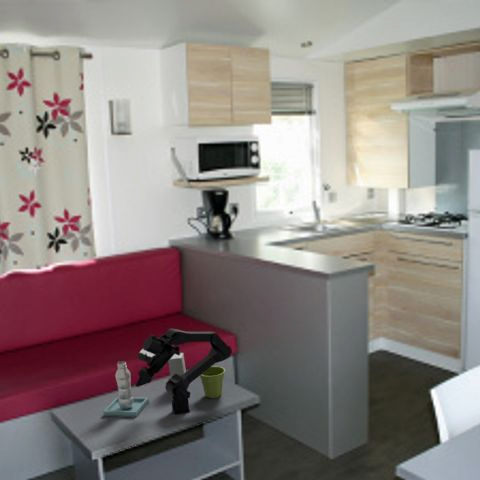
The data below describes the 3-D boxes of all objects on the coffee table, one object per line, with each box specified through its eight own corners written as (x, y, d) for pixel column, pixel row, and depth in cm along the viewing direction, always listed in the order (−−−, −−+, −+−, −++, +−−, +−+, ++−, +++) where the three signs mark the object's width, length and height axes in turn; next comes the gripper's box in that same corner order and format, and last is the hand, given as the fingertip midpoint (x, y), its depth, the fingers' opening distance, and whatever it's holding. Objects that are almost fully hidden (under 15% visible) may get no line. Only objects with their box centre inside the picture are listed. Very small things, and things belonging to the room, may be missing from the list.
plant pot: (210, 403, 285) (208, 378, 283) (195, 395, 294) (192, 371, 292) (232, 394, 292) (230, 370, 290) (216, 387, 301) (214, 364, 299)
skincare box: (186, 391, 299) (183, 358, 296) (170, 392, 299) (167, 359, 297) (188, 384, 307) (185, 351, 305) (172, 385, 308) (169, 352, 305)
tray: (148, 402, 291) (148, 397, 290) (136, 417, 277) (135, 412, 276) (117, 401, 294) (117, 397, 294) (103, 416, 280) (103, 411, 280)
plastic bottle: (124, 412, 280) (118, 367, 277) (116, 407, 286) (111, 363, 282) (137, 407, 284) (132, 362, 281) (129, 403, 290) (124, 359, 286)
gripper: (156, 336, 283) (134, 360, 288) (140, 351, 265) (117, 377, 270) (175, 354, 283) (153, 378, 287) (160, 370, 265) (137, 395, 269)
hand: (140, 381), depth 278 cm, fingers open, 9 cm apart
